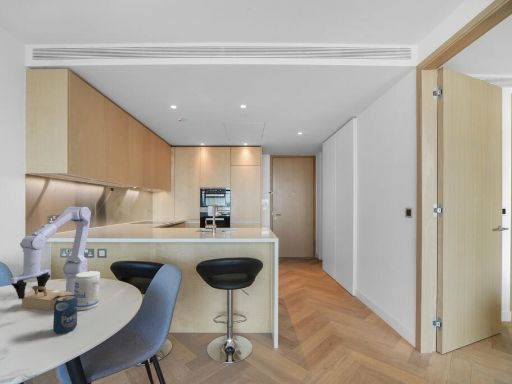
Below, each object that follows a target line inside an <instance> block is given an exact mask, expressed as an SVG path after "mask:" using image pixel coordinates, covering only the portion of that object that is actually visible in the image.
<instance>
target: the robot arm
mask: <svg viewBox="0 0 512 384" xmlns="http://www.w3.org/2000/svg"><path fill="white" fill-rule="evenodd" d="M91 216H92V211H91V210H90V209H89V207H87V206H83V207H82V206H69V207H67V208H65V209H64V210H63V213H61V214H60V215H59V216H58V217H57V218H56V219H55V220H53V221H52V222H51V223H46V224H42V225H41V227H40V228H39V229H37V230H36V231H34V232H32V233H31V234H30V235H26V236H24V237H23V238H22V240H21V242H20V243H19V245H20V248H21V249H22V252H23V266H22V274H19V275H18V276H14V277H11V278H10V284H11V285H12V287H13V288H14V290H15V292H16V294H17V297H18V299H19V300H22V299H24V296H25V295H26V287H27V284H28V282H26V281H27V280H30V279H34V278H36V282H37V286H41V287H46V285H47V283H48V280H49V279H50V278H51V273H52V272H51V271H52V270H51V269H49V268H47V269H41V267H42V248H44V246H45V245H46V242H47V241H48V240H49V239H50V238H52V237H53V236H54V235H55V234H57V232H58V231H57V230H58V229H59V228H61V226H63V225H65V224H66V223H68V222H69V221H72V222H73V223H74V224H75V225H76V231H75V235H74V238H73V243H72V244H73V245H72V250H71V254H70V256H68V258H66V260H65V262H64V264H63V266H62V272H63V274H64V275H65V276H64V277H66V278H65V279H66V281H65V292H72V295H74V287H75V277H76V274H78V273H82V272H87V271H88V269H89V268H88V261H89V259H87V258H86V257H85V256H84V255H85V252H86V251H85V250H86V246H87V240H88V236H89V229H90V225H91ZM38 292H41V293H42V292H43V290H38Z"/></svg>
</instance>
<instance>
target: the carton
mask: <svg viewBox="0 0 512 384" xmlns="http://www.w3.org/2000/svg"><path fill="white" fill-rule="evenodd" d="M46 291H47V292H55V293H60V295H58V296H57V297H55V298H54V299H52V300H51V301H45V300H38V299H30V298H24V299H21V307H22V308H29V309H36V310H44V311H54V304H55V302H56V301H57V300H56V299H57V298H59V297H61V296H65V295H72V292H66V290H65V291H63V290H56V289H55V290H53V289H47V288H46Z"/></svg>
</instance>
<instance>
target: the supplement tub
mask: <svg viewBox="0 0 512 384" xmlns="http://www.w3.org/2000/svg"><path fill="white" fill-rule="evenodd" d="M100 288H101V272H100V271H97V270H89V271H88V270H87V271H86V272H82V273H78V274H76V277H75V287H74V295H75V296H76V298H77V300H78V305H77V311H87V310H88V311H89V310H91V309H94V308H96V307H98V305H99V303H100Z"/></svg>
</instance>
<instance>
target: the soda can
mask: <svg viewBox="0 0 512 384" xmlns="http://www.w3.org/2000/svg"><path fill="white" fill-rule="evenodd" d="M56 300H57V301H56V302H55V304H54V309H53V326H52V327H53V328H52V330H53V332H54V333H55V335H58V336H60V335H61V336H62V335H67V334H69V333H72V332H73V331H75V329H76V328H77V326H78V310H77V305H78V300H77V298H76V296H75V295H65V296H61V297H59V298H57V299H56Z"/></svg>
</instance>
